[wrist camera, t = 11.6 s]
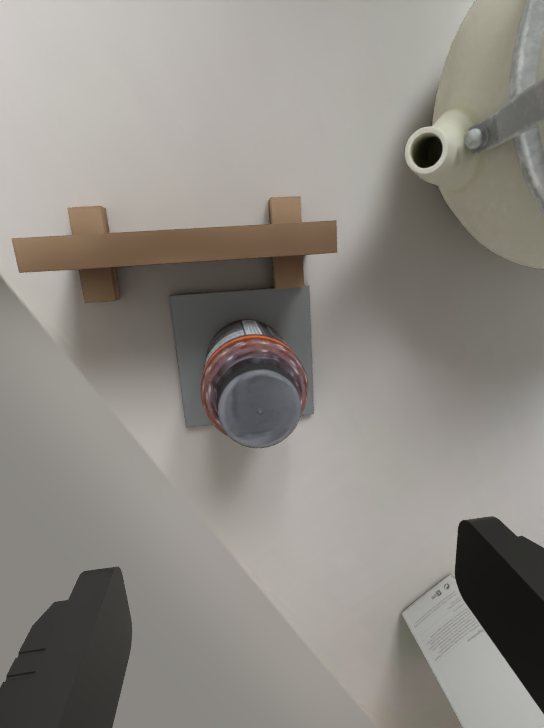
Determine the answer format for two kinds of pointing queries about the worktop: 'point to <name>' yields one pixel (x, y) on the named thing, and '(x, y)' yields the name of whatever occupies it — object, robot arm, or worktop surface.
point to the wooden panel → (175, 247)
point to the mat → (216, 309)
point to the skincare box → (469, 662)
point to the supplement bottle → (253, 384)
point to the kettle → (491, 129)
